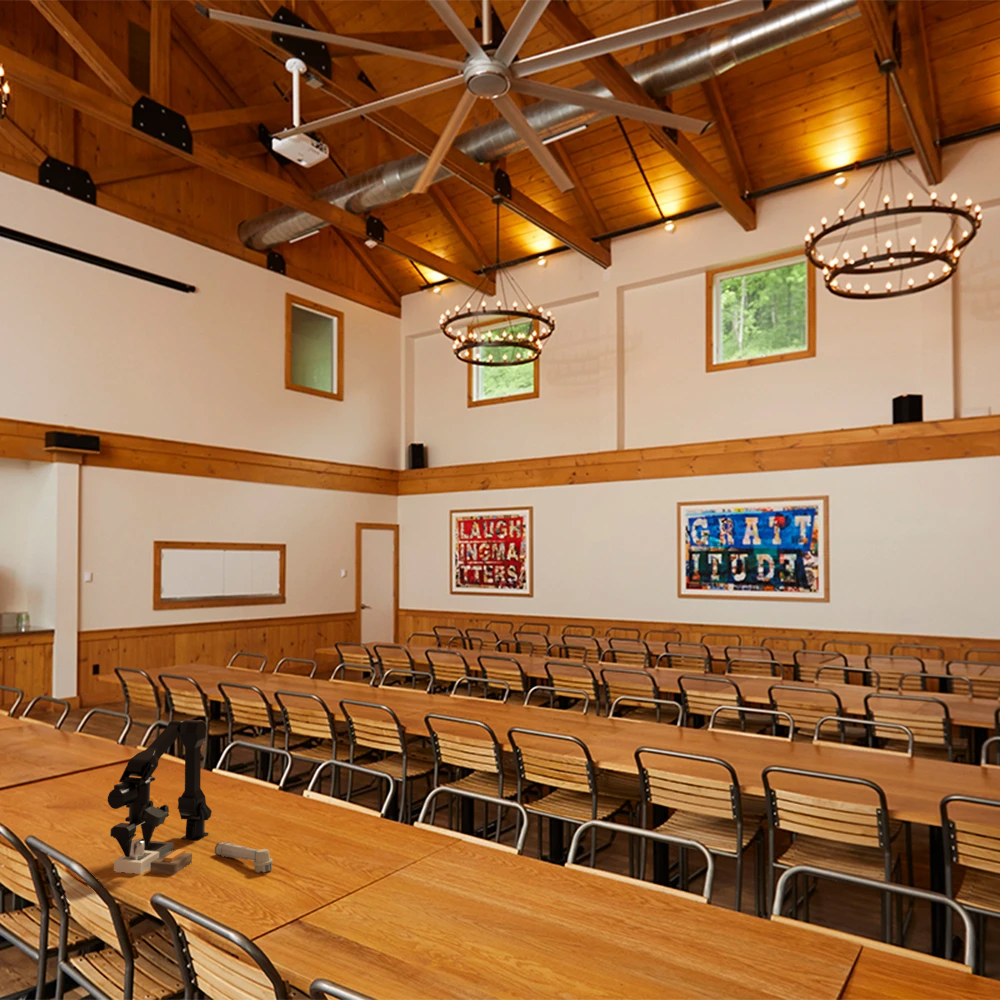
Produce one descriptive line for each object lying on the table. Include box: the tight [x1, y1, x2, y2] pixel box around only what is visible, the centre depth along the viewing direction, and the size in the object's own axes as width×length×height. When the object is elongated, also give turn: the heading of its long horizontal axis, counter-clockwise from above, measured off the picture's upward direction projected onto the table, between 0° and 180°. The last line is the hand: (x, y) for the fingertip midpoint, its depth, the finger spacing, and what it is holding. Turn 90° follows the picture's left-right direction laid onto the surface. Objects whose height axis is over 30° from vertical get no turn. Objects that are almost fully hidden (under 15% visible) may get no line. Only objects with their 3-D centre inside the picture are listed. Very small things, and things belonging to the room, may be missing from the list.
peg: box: [130, 838, 145, 860], centre depth 238 cm, size 4×4×8 cm
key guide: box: [149, 851, 193, 876], centre depth 238 cm, size 9×8×3 cm
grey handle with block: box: [214, 841, 274, 873], centre depth 242 cm, size 5×7×25 cm
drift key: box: [165, 848, 186, 863], centre depth 239 cm, size 7×2×4 cm, turn 169°
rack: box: [113, 850, 159, 875], centre depth 238 cm, size 9×9×4 cm
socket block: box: [144, 840, 174, 857], centre depth 248 cm, size 9×9×2 cm
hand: (137, 851), depth 238 cm, fingers open, 9 cm apart
